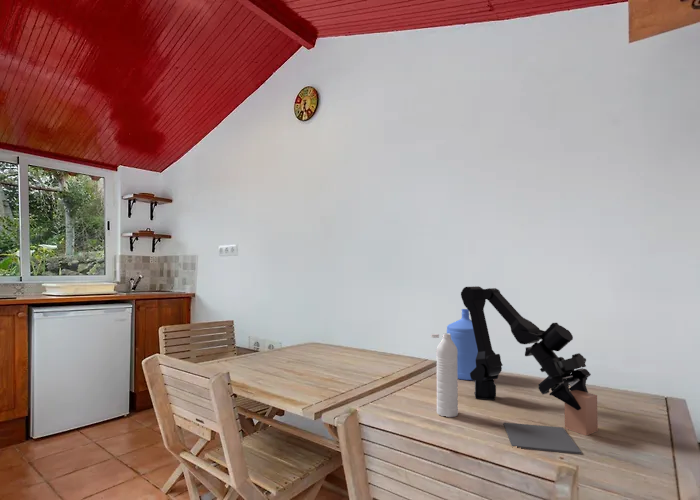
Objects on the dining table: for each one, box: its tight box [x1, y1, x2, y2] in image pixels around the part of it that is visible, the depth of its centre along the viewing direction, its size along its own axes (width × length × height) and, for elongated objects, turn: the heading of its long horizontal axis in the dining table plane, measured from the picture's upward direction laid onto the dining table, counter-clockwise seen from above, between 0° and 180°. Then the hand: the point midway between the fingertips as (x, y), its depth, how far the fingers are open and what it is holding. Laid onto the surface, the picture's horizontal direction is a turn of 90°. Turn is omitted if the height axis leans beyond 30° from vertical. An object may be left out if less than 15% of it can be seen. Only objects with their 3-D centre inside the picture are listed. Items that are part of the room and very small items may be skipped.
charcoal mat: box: [503, 421, 582, 455], centre depth 110 cm, size 16×16×1 cm
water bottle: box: [430, 332, 459, 418], centre depth 128 cm, size 9×6×25 cm
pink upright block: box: [564, 390, 599, 436], centre depth 116 cm, size 6×6×10 cm
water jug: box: [446, 308, 478, 381], centre depth 174 cm, size 16×16×28 cm
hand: (585, 407), depth 115 cm, fingers closed on pink upright block, 6 cm apart
